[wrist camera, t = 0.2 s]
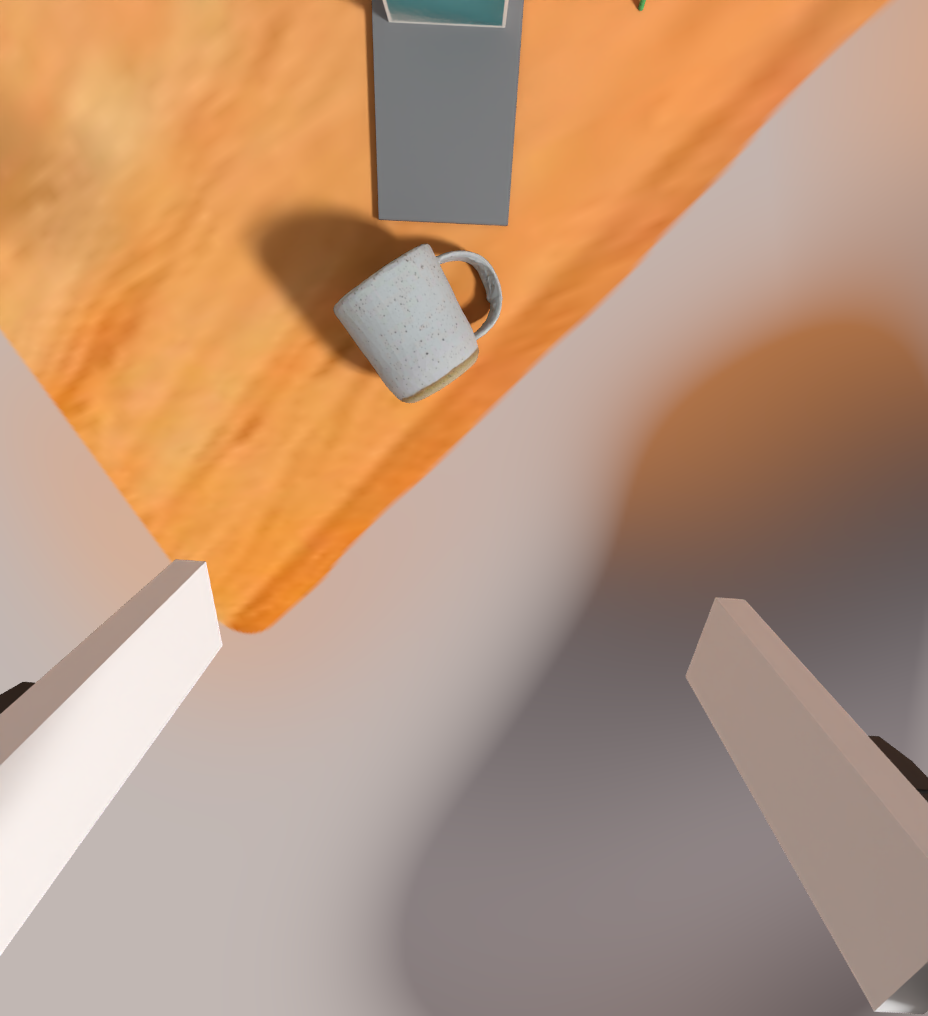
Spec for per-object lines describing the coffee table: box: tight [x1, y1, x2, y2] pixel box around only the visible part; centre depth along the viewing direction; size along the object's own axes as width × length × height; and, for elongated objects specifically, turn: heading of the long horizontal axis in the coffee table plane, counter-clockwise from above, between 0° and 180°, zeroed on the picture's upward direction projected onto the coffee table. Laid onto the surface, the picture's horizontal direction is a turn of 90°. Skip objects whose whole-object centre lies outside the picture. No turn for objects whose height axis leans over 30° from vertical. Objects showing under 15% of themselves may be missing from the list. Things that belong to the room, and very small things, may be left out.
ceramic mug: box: [334, 244, 502, 403], centre depth 31 cm, size 11×8×8 cm
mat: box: [372, 0, 524, 226], centre depth 29 cm, size 14×9×1 cm, turn 178°
